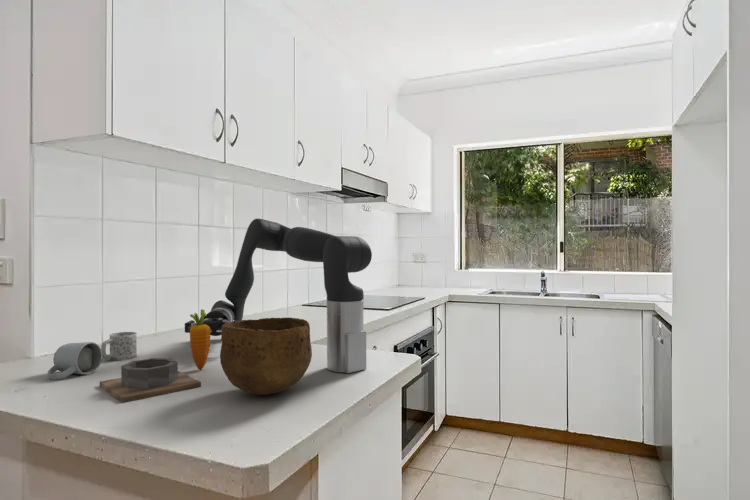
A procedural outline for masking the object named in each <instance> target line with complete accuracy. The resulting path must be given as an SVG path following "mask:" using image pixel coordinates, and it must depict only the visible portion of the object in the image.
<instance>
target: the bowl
mask: <svg viewBox="0 0 750 500" xmlns="http://www.w3.org/2000/svg"><path fill="white" fill-rule="evenodd" d="M220 336H221V337H220V338H221V340H220V341H221V346H220V354H219V358H220V359H219V363H220V365H221V368H222V371H223V373H224V375H225V376H226V378H227V380H228V381H229V382H230V383H231V384H232V386H233V387H236V388H237V389H239V390H241V391H243V392H245V393H247V394H250V395H255V396H265V395H272V394H278V393H281V392H283V391H285V390H287V389H290V388H291V387H292V386H294V385H295V384H297V383H298V382H299V381H300V380H301V379H302V378H303V377H304V375H305V374H306V372H307V370H308V368H309V366H310V364H311V361H312V356H313V352H312V351H313V350H312V344H311V326H310V323H309V322H308V320H305V319H304V318H297V317H264V318H263V317H262V318H259V319H242V320H241V321H234V322H227V323H225V324H223V325H222V333H221V335H220Z"/></svg>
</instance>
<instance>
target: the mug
mask: <svg viewBox="0 0 750 500" xmlns="http://www.w3.org/2000/svg"><path fill="white" fill-rule="evenodd" d="M137 337H138V335H137V332H135V331H120V332H115V333H110V334H109V338H108V339H106V340H104V341H102V343H101V347H100V348H101V351H102V359H105V360H106V359H107V360H108V359H109V360H110V361H126V360H132V359H135V358H137V355H138V353H137V349H138V348H137V344H138V343H137V340H138V339H137ZM108 344H109V354H107V352H106V351H107V350H106V349H107V345H108Z"/></svg>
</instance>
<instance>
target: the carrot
mask: <svg viewBox="0 0 750 500" xmlns="http://www.w3.org/2000/svg"><path fill="white" fill-rule="evenodd" d="M189 316H190V317H191V318H192V320H193V321H195V323H197V324H196V325H193V326H191V327H190V333H189V343H190V344H189V345H190V350H191V351H190V352H191V355H192V359H193V362H194V364H195V366H196V367H197V369H198V370H199V371H202V370H203V368H204V367H205V364H206V363H207V361H208V358H209V353H210V347H211V335H210V331H211V330H210V327H209V326H208V325H206V324H203V321H204V317H205V316H206V312H205V310H204V309H203V308H202V309H200V317H199V315H198V312H194V314H192V313H191V314H190V315H189Z"/></svg>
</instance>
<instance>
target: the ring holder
mask: <svg viewBox="0 0 750 500" xmlns="http://www.w3.org/2000/svg"><path fill="white" fill-rule="evenodd" d="M178 365H179V361H178V360H175V359H174V358H171V357H166V358H165V357H151V358H144V359H138V360H137V359H136V360H131V361H129V362H127V363H125V364H122V365H121V367H120V370H121V371H120V372H121V373H120V374H121V375H120V376H121V377H118V378H111V379H106V380H100V381H99V387H101V389H102V390H105V391H106V392H107V393H109V394H110V395H111V396H113V397H114V398H115V399H116V400H118V401H119V402H121V403H127V402H132V401H136V400H142V399H146V398H152V397H156V396H160V395H166V394H169V393H175V392H180V391H186V390H190V389H195V388H199V387H202V381H200V380H197V379H196V378H194V377H191V376H189V375H187V374H185V373H183V372H181V371H179V368H178V367H179V366H178Z"/></svg>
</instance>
